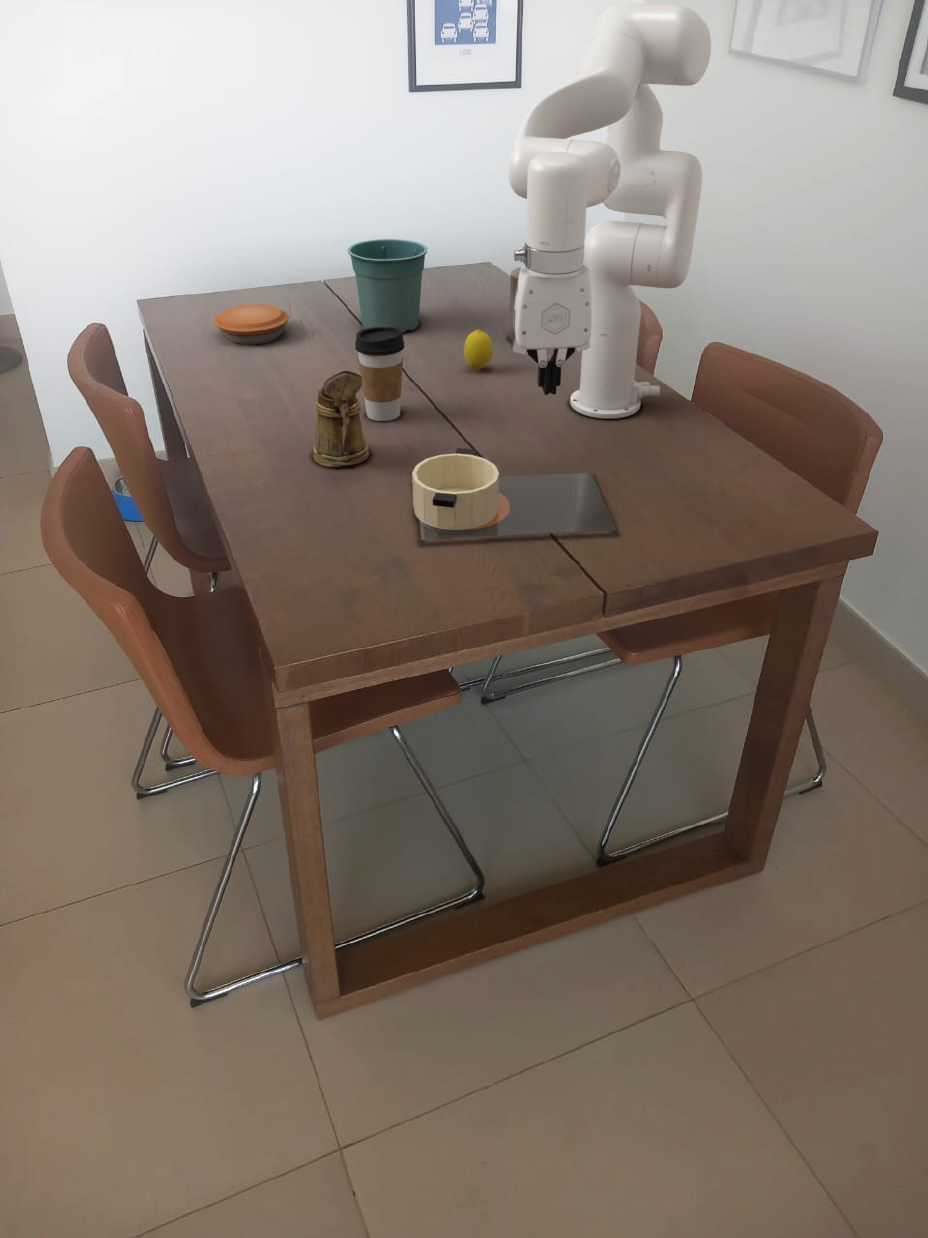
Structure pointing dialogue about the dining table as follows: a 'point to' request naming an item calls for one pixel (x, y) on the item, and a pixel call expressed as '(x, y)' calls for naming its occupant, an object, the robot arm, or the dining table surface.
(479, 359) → the lemon
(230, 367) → the dining table surface
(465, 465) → the pot
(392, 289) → the flower pot
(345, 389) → the wooden mug
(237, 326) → the pie
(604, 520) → the cooktop
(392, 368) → the coffee cup
